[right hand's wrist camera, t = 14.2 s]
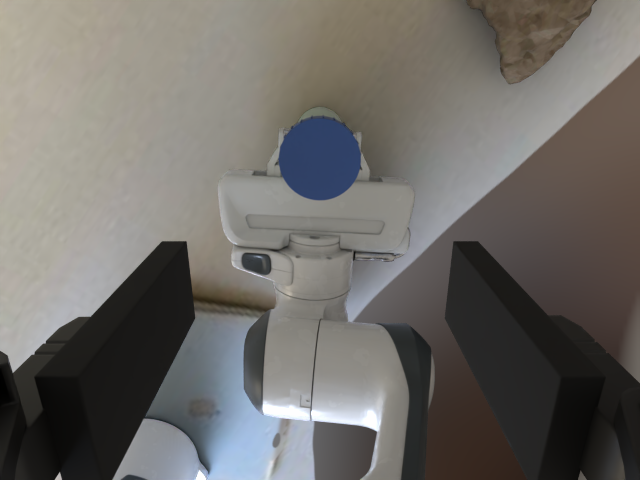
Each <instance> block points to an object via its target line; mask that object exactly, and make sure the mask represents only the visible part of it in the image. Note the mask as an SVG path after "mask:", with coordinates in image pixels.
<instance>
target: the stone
mask: <svg viewBox="0 0 640 480" xmlns="http://www.w3.org/2000/svg"><path fill="white" fill-rule="evenodd" d="M595 1H597V0H467V4H468V5H469V6H470V8H471V9H479V10H481V11H482V12H483V16H484V17H485V18H486V19H487V21H488V24H489V26H491V27H493V29H494V30H495V31H496V32H497V34H496V40H495V43H496V47H497V50H498V52H499V54H500V66H501V67H500V69H501V73H502V75H503V76H504V78H505V79H506V81H507V82H508V83H509V84H513V83H518V82H521V81H522V80H524V79H525V78H527V77H529V76H531V75H532V74H533V73H535V72H536V71H537V70H538V69H539V68H540V67H542V66H543V65H544V64H545V63H546V62H547V61H548V60H549V59H550V58H551V57H552V56H553V55H554V53H555V52H556V51H557V50H558V49H560V48H561V47H563V46H564V44H565V42H566V41H568V40H569V38H570V37H571V35H572V34H573V32H574V30H575V29H576V28H577V27H578V26H579V25H580V24H581V23H582V22H583V21H584V20H585V19H586V18H587V17H588V16H589V15H590V13H591V6H592V5H593V4H594V2H595Z"/></svg>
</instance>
